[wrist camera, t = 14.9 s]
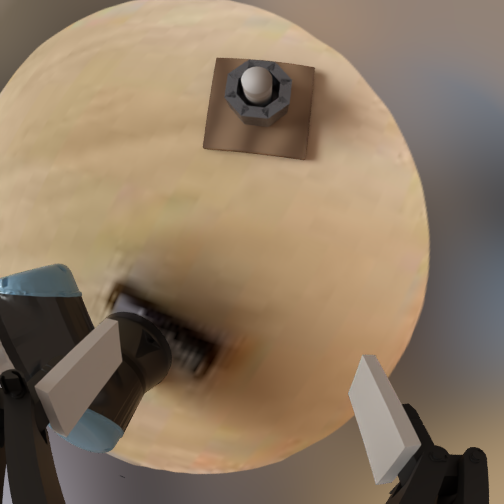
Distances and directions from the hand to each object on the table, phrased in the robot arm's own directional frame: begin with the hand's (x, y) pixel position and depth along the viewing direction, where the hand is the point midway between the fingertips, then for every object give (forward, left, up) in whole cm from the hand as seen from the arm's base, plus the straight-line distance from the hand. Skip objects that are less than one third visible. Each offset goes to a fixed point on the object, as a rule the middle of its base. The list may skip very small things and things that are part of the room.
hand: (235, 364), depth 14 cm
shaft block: (-2, +20, -29) cm, 35 cm away
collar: (-2, +20, -25) cm, 32 cm away
